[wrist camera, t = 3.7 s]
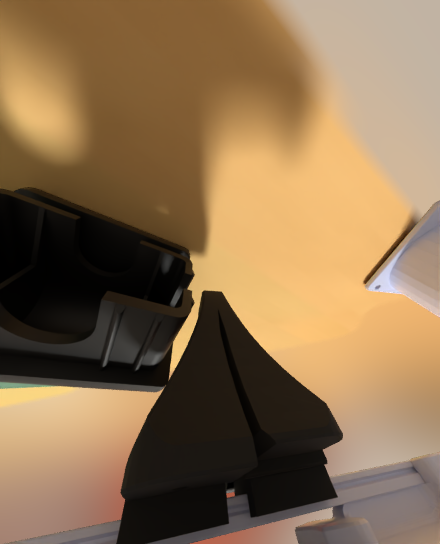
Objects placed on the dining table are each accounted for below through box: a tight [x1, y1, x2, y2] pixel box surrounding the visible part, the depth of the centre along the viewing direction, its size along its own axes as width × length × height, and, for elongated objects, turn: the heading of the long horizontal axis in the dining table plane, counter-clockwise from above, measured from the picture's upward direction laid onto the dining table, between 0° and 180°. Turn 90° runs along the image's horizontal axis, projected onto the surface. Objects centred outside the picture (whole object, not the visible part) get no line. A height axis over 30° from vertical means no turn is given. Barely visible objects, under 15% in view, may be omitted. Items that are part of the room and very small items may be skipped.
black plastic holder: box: [0, 187, 194, 392], centre depth 9 cm, size 10×7×7 cm
